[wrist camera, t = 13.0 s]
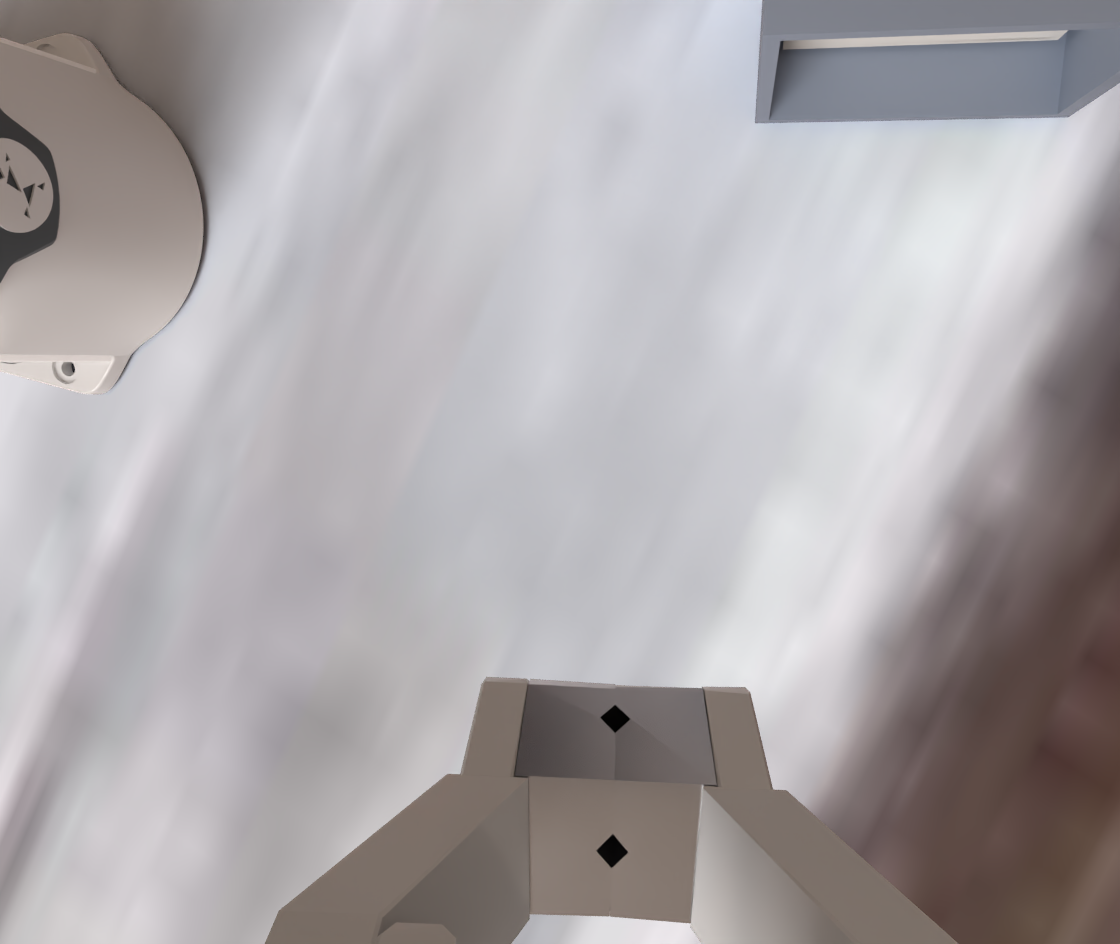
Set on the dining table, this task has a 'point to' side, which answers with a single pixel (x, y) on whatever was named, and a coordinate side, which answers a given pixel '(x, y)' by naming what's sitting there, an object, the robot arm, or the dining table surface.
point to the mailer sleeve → (934, 60)
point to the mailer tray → (924, 40)
